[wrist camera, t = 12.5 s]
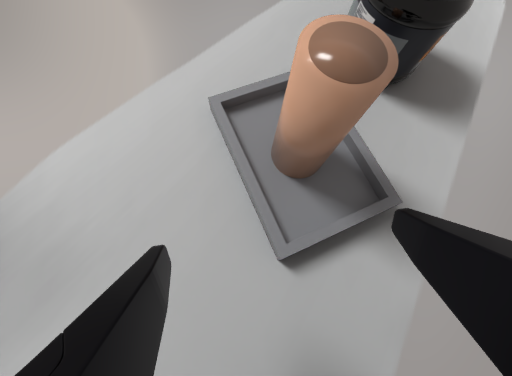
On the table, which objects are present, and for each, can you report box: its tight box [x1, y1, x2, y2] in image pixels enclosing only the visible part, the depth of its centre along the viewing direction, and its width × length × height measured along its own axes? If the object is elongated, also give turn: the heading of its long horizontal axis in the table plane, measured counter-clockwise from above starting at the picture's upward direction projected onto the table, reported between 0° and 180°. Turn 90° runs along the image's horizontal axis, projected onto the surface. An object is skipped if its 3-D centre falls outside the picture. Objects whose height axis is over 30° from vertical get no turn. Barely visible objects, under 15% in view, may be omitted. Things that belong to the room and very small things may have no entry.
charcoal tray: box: [208, 71, 402, 260], centre depth 24 cm, size 18×13×2 cm
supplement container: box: [348, 0, 474, 84], centre depth 24 cm, size 10×10×12 cm
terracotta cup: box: [271, 15, 398, 178], centre depth 18 cm, size 6×6×12 cm
